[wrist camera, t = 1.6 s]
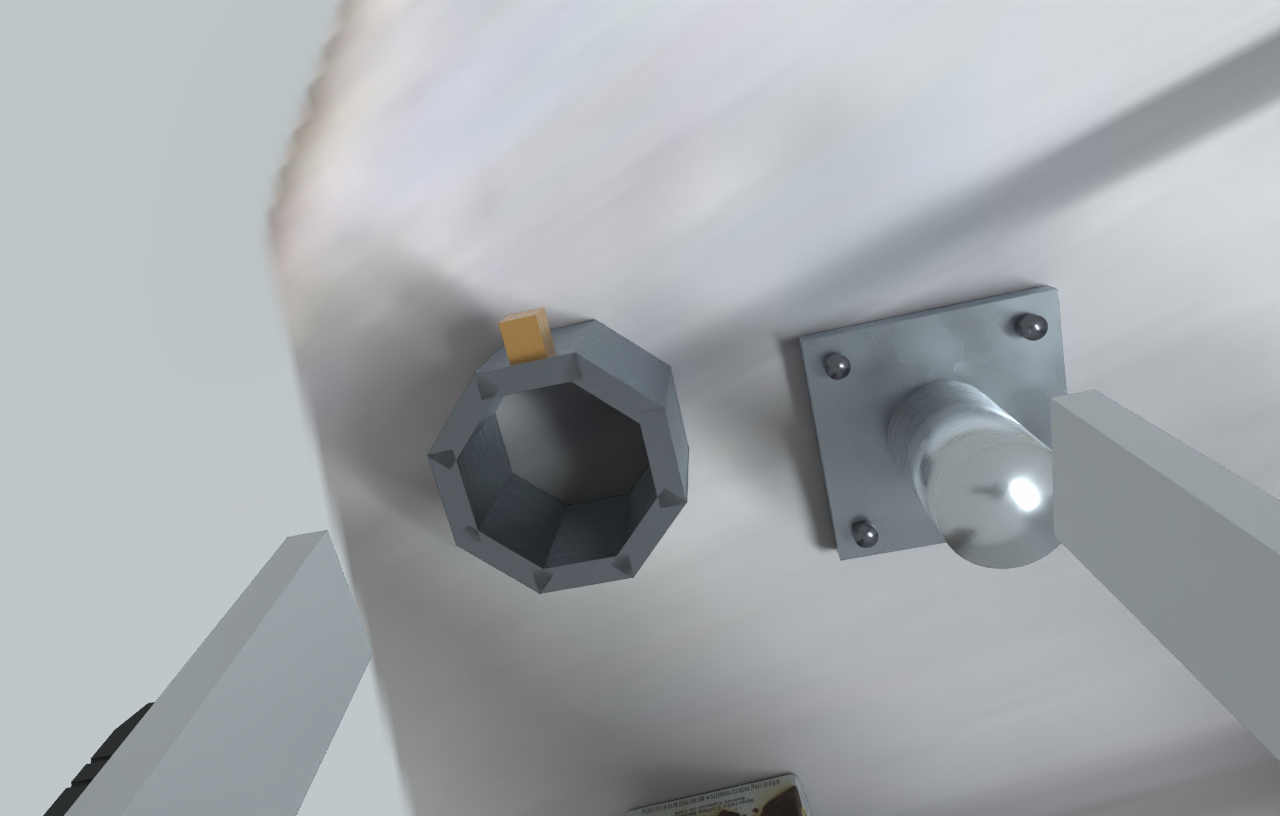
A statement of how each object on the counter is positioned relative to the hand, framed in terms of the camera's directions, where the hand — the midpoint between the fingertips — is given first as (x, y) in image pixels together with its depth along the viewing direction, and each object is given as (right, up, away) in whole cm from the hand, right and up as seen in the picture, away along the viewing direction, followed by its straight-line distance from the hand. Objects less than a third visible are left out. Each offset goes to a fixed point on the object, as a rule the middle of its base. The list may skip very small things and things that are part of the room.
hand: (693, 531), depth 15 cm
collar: (-4, +1, +21) cm, 22 cm away
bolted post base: (+12, +1, +20) cm, 23 cm away
